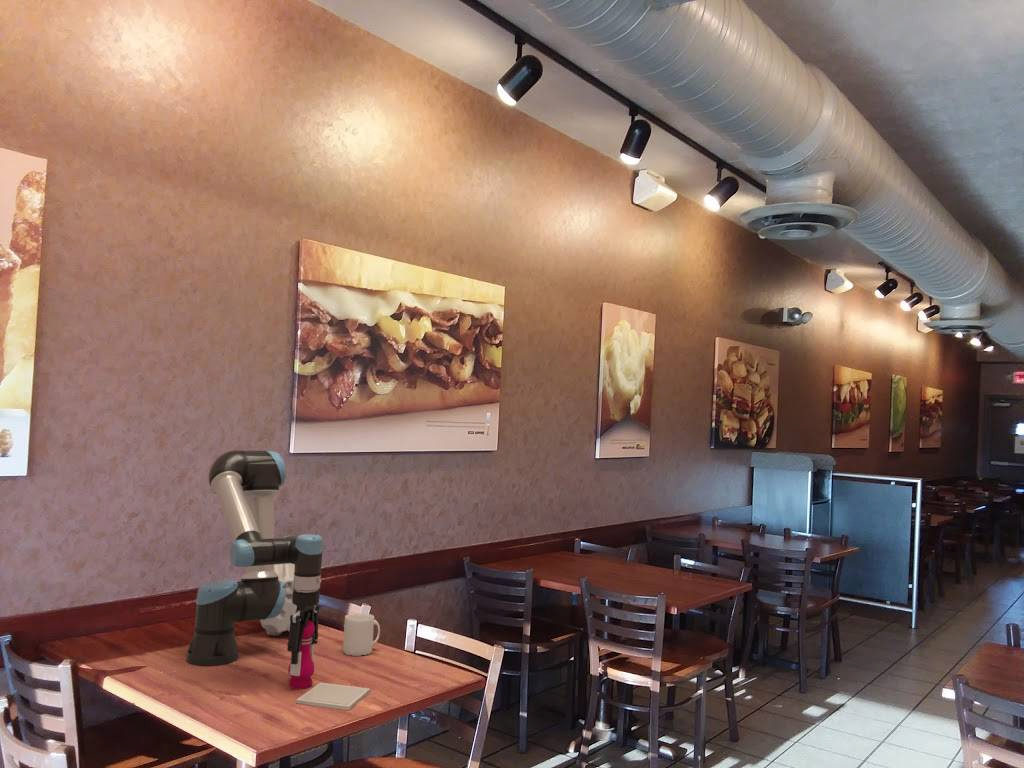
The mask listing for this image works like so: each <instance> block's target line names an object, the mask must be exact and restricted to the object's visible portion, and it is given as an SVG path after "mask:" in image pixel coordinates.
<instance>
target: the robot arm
mask: <svg viewBox="0 0 1024 768" xmlns="http://www.w3.org/2000/svg"><path fill="white" fill-rule="evenodd" d="M286 477H287V471H286V465H285V461H284V458H283V457H282V455H281V454H280V453H279V452H277V451H270V450H237V449H235V450H229V451H226V452H224V453H222V454H221V455H219V456H217V458H216V459H215V460H214V462H213V463H212V465H211V467H210V468H209V472H208V484H209V488H210V489H211V491H212V493H214V494H215V495H217V499H218V502H219V503H220V504H219V505H220V506H221V509H222V512H223V515H224V517H225V520H226V522H227V523H226V524H227V526H228V528H229V531H230V534H231V537H232V542H231V544H230V546H229V560H230V563H231V564H232V565H233V566H234V567H245V573H244V574H243V575H242V576H241V577H240V583H239V584H238V581H237V580H235V579H231V578H230V579H217V580H212V581H209V582H206V583H204V584H202V585H201V586H200V587H198V590H197V594H196V595H197V596H196V600H195V604H196V607H195V618H194V633H193V637H192V639H191V641H190V644H189V647H188V649H187V652H186V657H185V658H186V661H187V663H190V664H191V665H198V666H220V665H226V664H229V663H233V662H235V661H237V660H238V659H239V651H240V650H239V647H238V642H237V639H236V636H235V625H236V623H241V622H243V623H244V622H251V621H260V620H261V619H262V620H266V619H269V618H274V617H276V616H278V615H279V614H280V612H281V610H282V609H283V606H284V602H285V594H286V592H285V588H284V587H285V586H284V583H283V582H282V581H280V580H278V577H279V576H278V574H276V573H275V572H274V565H275V564H294V565H295V567H294V581H293V588H294V589H295V590H294V591H293V597H292V603H293V604H294V605H296V606H297V609H296V614H295V615H291V616H290V630H289V632H288V640H287V648H286V649H287V650H286V651H287V652H289V653H291V654H290V662H291V665H290V664H289V665H290V675H295V676H299V675H300V667H301V652H300V648H301V643H302V639H303V633H304V628H305V627H307V623H308V621H309V620H310V621H312V622H313V624H314V626H315V631H314V633H313V635H312V636H311V637H312V643H311V644H310V655H311V658H312V660H313V661H314V650H315V649H314V648H315V647H314V645H318V639H319V613H320V606H318V604H319V603H320V596H321V595H320V594H321V591H320V590H319V589H320V588H321V583H322V580H323V579H321V578H322V576H321V575H322V562H323V551H324V546H323V541H324V539H323V537H322V536H321V535H319V534H313V533H312V534H311V533H310V534H308V533H307V534H305V533H304V534H303V533H302V534H300V535H298V536H297V535H286V536H285V535H284V536H283V537H277V538H275V496H276V495H277V494H278V493H279V492H280V487H282V486H283V485H284V484H285V482H286ZM300 623H302V624H300ZM290 675H289V676H290Z"/></svg>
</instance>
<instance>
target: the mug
mask: <svg viewBox="0 0 1024 768" xmlns="http://www.w3.org/2000/svg"><path fill="white" fill-rule="evenodd" d="M374 625H375V626H376V628H377V636H376V638H375V640H374ZM343 627H344V628H343V629H344V630H343V644H342V645H343V646H342V650H343V651H342V652H343V653H344V654H345V655H346V654H347V655H346V656H349V655H352V656H351V657H362V656H361V655H365V656H368V655H370V654H371V653H372V652H373V645H375V644H376V643H377V642H378V641H379V638H380V635H381V627H380V624H379V622H378V621H377V620H376V619H375V615H373V614H371V613H364V612H353V613H352V612H351V613H349V614H348V613H347V614H346V615H345V616H344V626H343ZM367 654H368V655H367Z"/></svg>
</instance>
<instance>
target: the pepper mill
mask: <svg viewBox="0 0 1024 768" xmlns="http://www.w3.org/2000/svg"><path fill="white" fill-rule="evenodd" d="M300 624H302V623H300ZM314 631H315V626H314V624H313V622H312V621H310V620H309V621H308V623H307V627H305V628H304V633H303V639H302V643H301V648H300V652H301V667H300V675H299V676H295V675H290V665H291V661H290V662H289V666H288V670H287V673H288V674H289V676H290V678H289V683H288V686H289V687H290V688H292V689H294V690H298V689H299V690H301V689H302V690H303V689H308V688H310V687H312V683H313V678H312V676H313V674H314V673H315V664H314V659H313V660H312V658H311V655H310V644H311V643H312V637H311V636H312V635H313V633H314Z"/></svg>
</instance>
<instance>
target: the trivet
mask: <svg viewBox="0 0 1024 768" xmlns="http://www.w3.org/2000/svg"><path fill="white" fill-rule="evenodd" d="M370 693H371V688H369V687H367V688H365V687H359V686H352V685H344V684H335V683H327V682H320V683H318V684H317V685H315V686H314V687H312V688H311V689H309V690H308V691H307V692H305V693H304V694H303V695H301V696H299V697H298V698H297V699H296V701H295V704H298V705H306V706H312V707H313V706H314V707H320V708H327V709H332V710H333V709H335V710H343V711H350V710H351V709H352V708H353V707H355V706H356V705H357V704H358V703H359V702H360V701H362V700H363V699H364V698H365V697H366V696H368V695H369V694H370Z"/></svg>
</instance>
